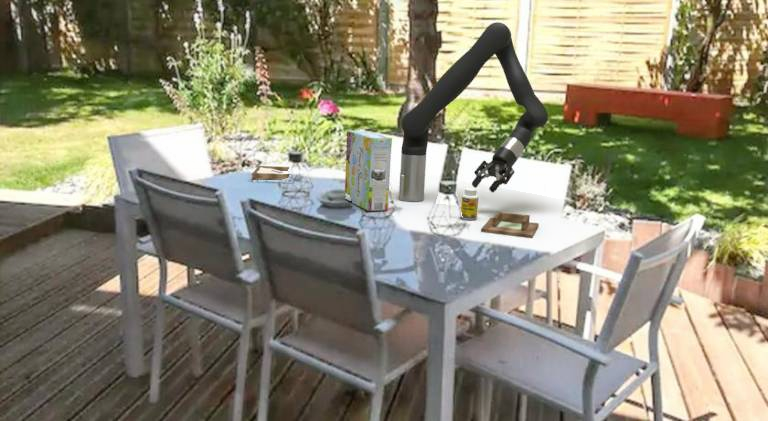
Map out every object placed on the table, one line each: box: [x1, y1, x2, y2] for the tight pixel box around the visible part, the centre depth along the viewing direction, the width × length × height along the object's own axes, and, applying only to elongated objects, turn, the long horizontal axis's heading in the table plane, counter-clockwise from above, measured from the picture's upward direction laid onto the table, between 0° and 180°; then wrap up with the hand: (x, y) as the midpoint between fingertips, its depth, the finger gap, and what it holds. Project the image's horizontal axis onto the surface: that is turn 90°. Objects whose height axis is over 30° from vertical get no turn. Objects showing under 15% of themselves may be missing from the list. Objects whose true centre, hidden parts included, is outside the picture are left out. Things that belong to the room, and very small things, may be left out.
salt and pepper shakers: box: [257, 167, 283, 174], centre depth 294 cm, size 12×4×11 cm
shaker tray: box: [251, 165, 290, 181], centre depth 295 cm, size 16×17×4 cm
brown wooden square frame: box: [480, 211, 540, 239], centre depth 230 cm, size 16×16×4 cm
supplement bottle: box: [460, 187, 479, 221], centre depth 241 cm, size 6×6×10 cm
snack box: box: [344, 130, 393, 212], centre depth 253 cm, size 22×9×26 cm, turn 26°
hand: (482, 188), depth 243 cm, fingers open, 8 cm apart
